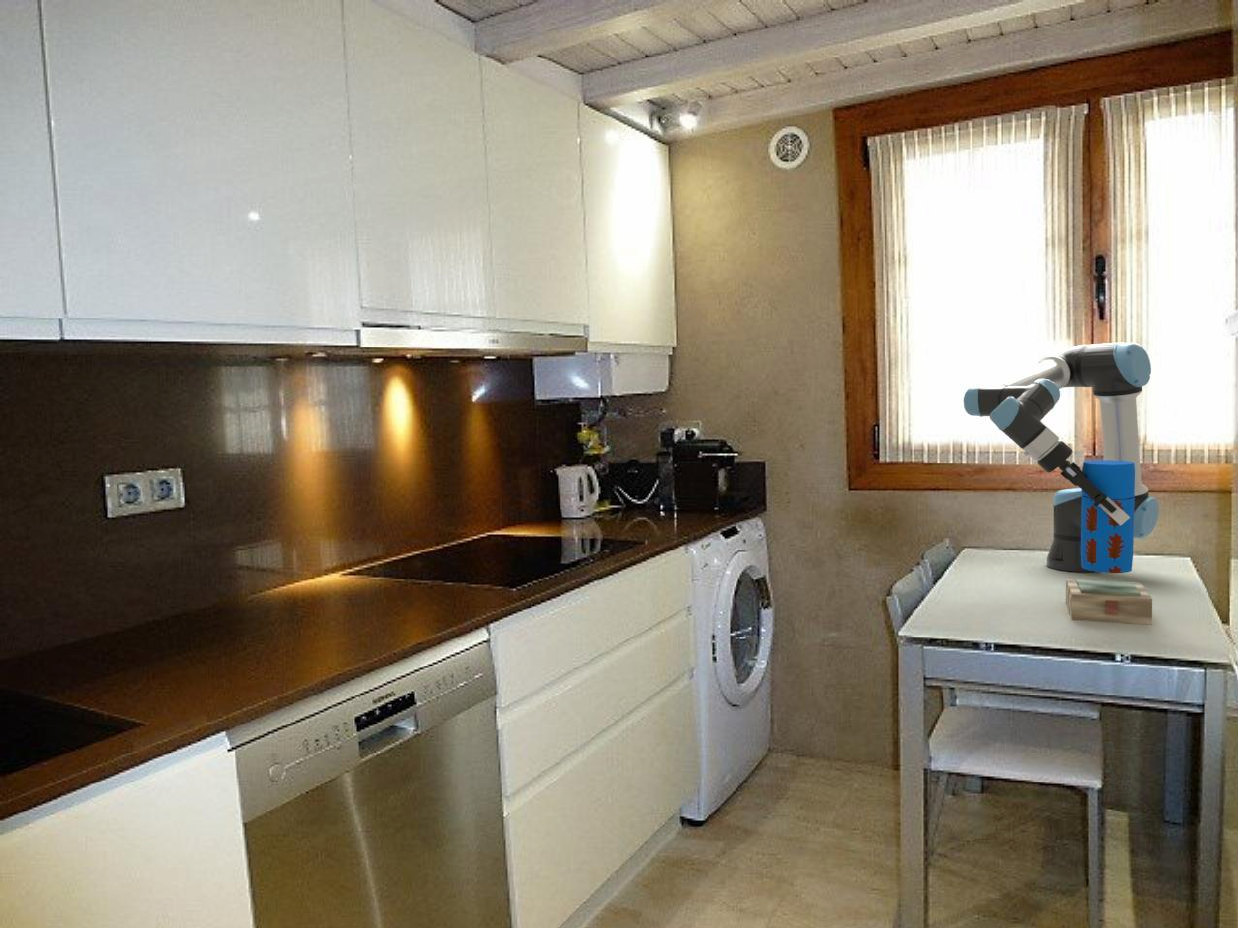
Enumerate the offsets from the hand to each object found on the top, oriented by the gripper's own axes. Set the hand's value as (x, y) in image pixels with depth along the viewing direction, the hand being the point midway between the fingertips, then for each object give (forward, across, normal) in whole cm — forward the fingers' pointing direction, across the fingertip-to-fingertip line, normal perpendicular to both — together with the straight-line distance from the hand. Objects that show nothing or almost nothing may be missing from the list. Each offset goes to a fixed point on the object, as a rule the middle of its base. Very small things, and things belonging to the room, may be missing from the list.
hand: (1121, 517), depth 205 cm
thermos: (+7, 0, -11) cm, 13 cm away
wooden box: (+14, 0, -18) cm, 23 cm away
